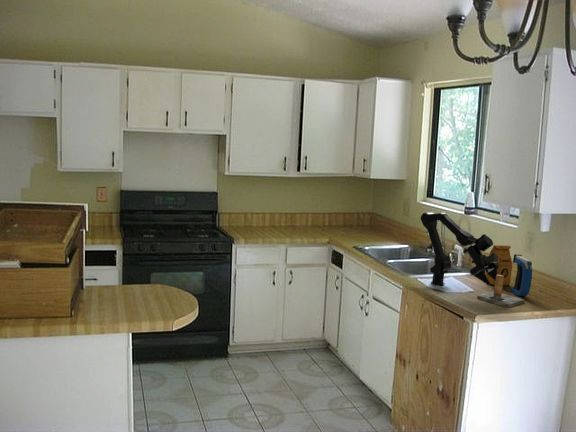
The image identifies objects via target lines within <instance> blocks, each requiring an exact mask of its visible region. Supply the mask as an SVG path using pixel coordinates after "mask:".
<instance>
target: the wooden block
mask: <svg viewBox="0 0 576 432" xmlns="http://www.w3.org/2000/svg"><path fill="white" fill-rule="evenodd" d="M503 281H504V276H503V275H496V281H495V285H494V288H493V289H494V290H493V292H494V295H493V299H494V300H498V301H501V295H502V294H503V287H504V285H503Z"/></svg>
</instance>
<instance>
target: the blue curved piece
mask: <svg viewBox="0 0 576 432" xmlns="http://www.w3.org/2000/svg"><path fill="white" fill-rule="evenodd" d="M512 264H516V267H517V268H516V274H515V280H514V286H510V290H509V291H510V292H511V293H512V294H514V295H515V296H517V297H527V296H528V295H529V293H530V292H531V291H530V290H531V287H532V286H531V285H532V279H533V265H532V264H533V263H532V260H529V259H527V258H526V257H524V256H523V255H522V254H517V253H515V254H513V259H512Z"/></svg>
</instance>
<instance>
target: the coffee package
mask: <svg viewBox="0 0 576 432" xmlns="http://www.w3.org/2000/svg"><path fill="white" fill-rule="evenodd" d="M510 249H511V245H508V244H507V245H499V244H495V245H494V244H493V245H492V248H491V250H490V251H489V253H488V256H491V254H493V253H496V255H497V256H498V261H494V262H497V263H498V264H499V268H498V270H497V274H498V275H503V276H504V281H503V286H510V284H511V282H512V281H511V279H512V278H511V277H512V273H513V272H512V270H513V259H512V256H511V252H510V251H511V250H510ZM491 263H492V262H491ZM487 273H488V272H486V271H485V274H486V276H487V278H488V280H489V283H490V284H489V285H493V286H495V280H494V279H493V278H492V277H490V276H489V275H488V274H487Z"/></svg>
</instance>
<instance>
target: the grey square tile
mask: <svg viewBox="0 0 576 432" xmlns="http://www.w3.org/2000/svg"><path fill="white" fill-rule="evenodd" d="M493 295H494V291H490V292H486V293H481V294H478V295H477V296H476V298H477V300H482V301H484V302H488V303H490V304H493V305H494V304H495V305H498V306H501V307H504V308H511V307H515V306H518V305H522V304H524V303H525V299H524V298H520V297H516V296H512V295H509V294H505V293H502V295H501V301H498V300H494V299H493Z"/></svg>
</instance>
